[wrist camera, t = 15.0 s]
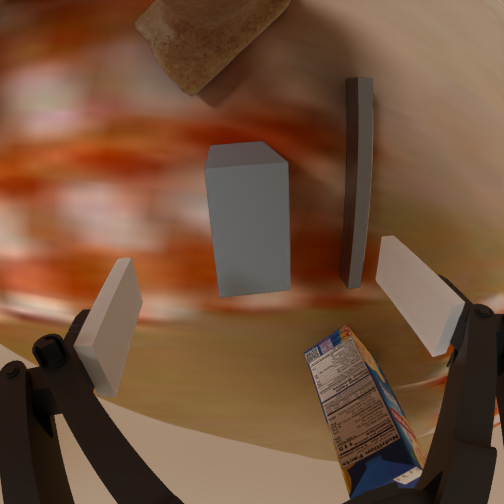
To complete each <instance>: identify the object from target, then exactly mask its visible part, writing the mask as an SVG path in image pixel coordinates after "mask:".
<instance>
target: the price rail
mask: <svg viewBox="0 0 504 504" xmlns="http://www.w3.org/2000/svg"><path fill="white" fill-rule="evenodd" d="M346 105H347V145H346V183H345V205H344V222H343V236H342V249H341V261H340V272H339V276H340V278H341V279H342V281H343V282H344V284H345V285H346V287H347V289H352V288H360V285H361V277H362V270H363V262H364V257H365V248H366V239H367V229H368V218H369V207H370V193H371V177H372V156H373V79H372V78H363V77H355V78H348V79H346Z"/></svg>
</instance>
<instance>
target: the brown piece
mask: <svg viewBox="0 0 504 504" xmlns="http://www.w3.org/2000/svg"><path fill="white" fill-rule="evenodd" d="M290 2H291V0H155V1H154V2H153V3H152V4H151V5H150V7H149V8H148V9H147V10H146V11H145V12H144V13H143V14H142V15H141V16H140V17H139V18H138V19H137V21H136V22H135V28H136V29H137V31H138V32H140V33H141V34H142V35H143V37H144V38H145V39H146V40H147V41H148V42H149V44H151V49H152V52H153V54H154V55H155V58H156V61H157V62H158V64H159V65H160V66H161V67H162V68H163V70H164V71H165V72H166V73H167V75H168V76H169V77H170V78H171V79H172V80H173V81H174V82H175V83H176V84H177V86H178V87H179V88H180V89H181V90H182V91H183V92H185V93H187V94H189V95H190V96H193V95H195V94H197V93H198V92H199V91H200V90H201V89H202V88H203V87H205V86H206V85H207V84H208V83H209V82H210V81H211V80H212V79H213V78H214V77H215V76H216V75H217V74H218V73H219V72H221V71H222V70H223V69H224V68H225V67H226V66H227V65H228V64H229V63H230V62H231V61H232V60H233V59H234V58H235V57H236V56H237V55H238V54H239V53H240V52H241V51H242V50H243V49H244V48H245V47H247V46H248V45H249V44H250V43H251V42H252V41H253V40H254V39H255V38H256V37H257V36H258V35H260V34H261V33H262V32H263V31H264V30H265V29H266V28H267V27H268V26H269V25H270V24H271V23H272V22H273V21H274V20H275V19H276V18H277V17H279V16H280V15H281V14H282V13H283V12H284V10H285V9H286V8H287V7H288V5H289V3H290Z"/></svg>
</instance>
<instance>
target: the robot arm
mask: <svg viewBox="0 0 504 504" xmlns="http://www.w3.org/2000/svg"><path fill="white" fill-rule="evenodd" d="M375 280H376V282H377V283H378V284H379V285H380V287H381V288H382V289H383V291H384V292H385V293H386V294H387V296H388V297H389V298H390V300H391V301H392V302H393V304H394V305H395V306H396V307H397V309H398V310H399V311H400V313H401V314H402V315H403V317H404V318H405V319H406V321H407V322H408V323H409V325H410V326H411V327H412V329H413V330H414V332H415V333H416V334H417V336H418V337H419V338H420V340H421V341H422V343H423V344H424V345H425V347H426V348H427V350H428V351H429V352H430V354H431V355H432V357H435V356H438V355H442V354H445V353H446V352H447V349H448V347H449V344H450V343H451V344H452V345H453V347H454V350H453V352H452V355H451V357H450V359H449V361H448V364H447V367H449V365H450V367H449V373H448V378H447V383H446V388H445V393H444V397H443V402H442V406H441V410H440V414H439V418H438V422H437V426H436V429H435V433H434V436H433V440H432V443H431V446H430V450H429V453H428V456H427V459H426V462H425V465H424V468H423V471H422V474H421V476H420V478H419V480H418V482H417V483H416V485H415V487H414V488H399V487H398V485H397V482H393V483H390V484H387V485H384V486H381V487H378V488H375V489H372V490H368V491H365V492H364V493H362V494H360V495H358V496H356V497H354V498H352V499H351V500H349V501H347V502H345V503H343V504H487V503H488V499H489V494H490V490H491V485H492V480H493V475H494V470H495V464H496V458H497V450H496V448H495V447H491V438H492V437H491V436H492V430H493V421H494V410H495V397H496V398H497V404H498V409H499V415H500V422H501V428H502V436H503V444H504V314H494V312H493V311H492V309H490V308H489V307H487V306H485V305H483V304H472V303H471V302H470V301H469V300H468V299H467V298H466V297H465V296H464V295H463V294H462V293H461V292H460V291H458V289H457V288H456V287H455V286H453V284H452V283H451V282H450V281H449V280H448V279H446V278H444V277H443V276H441V275H439V274H438V275H437V274H436V273H435V272H433V271H432V270H431V269H430V268H429V267H428V266H427V265H426V264H425V263H424V262H423V261H422V260H421V259H419V258H418V257H417V256H416V255H415V254H414V253H413V252H412V251H411V250H409V249H408V248H407V247H406V246H405V245H404V244H403V243H402V242H400V241H399V240H398V239H397V238H396V237H395V236H394V235H393V236H382V238H381V246H380V253H379V260H378V267H377V273H376V279H375ZM142 303H143V302H142V298H141V294H140V290H139V286H138V282H137V278H136V274H135V270H134V265H133V261H132V257H130V258H118V259H117V261H116V263H115V265H114V267H113V268H112V270H111V272H110V274H109V276H108V278H107V279H106V281H105V283H104V285H103V287H102V289H101V291H100V293H99V295H98V296H97V298H96V300H95V302H94V304H93V306H92V308H91V309H89V310H82V311H81V312H80V313H79V314H78V315H77V316H76V317H75V319H74V321H73V323H72V326H71V327H70V328H69V330H68V331H69V332H67V334H66V336H65V338H64V340H63V339H62V337H61V336H60V335H57V334H48V335H45V336H43V337H41V338H40V339H38V340H37V341H36V342H35V343H34V345H33V348H32V352H33V354H34V356H35V358H36V360H37V362H38V363H39V365H40V366H39V367H35V368H30V369H27V368H26V366H25V365H24V363H22V362H21V361H12V362H9V363H7V364H6V365H5V366H4V367H3V368H2V369H1V371H0V478H1V486H2V494H3V501H4V504H75V503H74V500H73V496H72V493H71V490H70V486H69V483H68V479H67V475H66V471H65V467H64V463H63V459H62V454H61V450H60V445H59V440H58V435H57V429H56V424H55V418H54V415H56V414H61V413H62V414H63V416H64V418H65V420H66V422H67V424H68V426H69V428H70V429H71V431H72V433H73V435H74V437H75V438H76V440H77V442H78V444H79V445H80V447H81V449H82V451H83V452H84V454H85V455H86V457H87V459H88V460H89V462H90V464H91V465H92V467H93V468H94V470H95V471H96V473H97V475H98V476H99V478H100V479H101V481H102V482H103V483H104V485H105V486H106V488H107V489H108V491H109V492H110V493H111V495H112V496H113V498H114V499H115V500H116V502H117V503H118V504H184V503H183V502H182V501H181V500H180V499H179V498H178V497H177V496H175V495H174V494H173V493H172V492H171V491H170V490H169V489H168V488H167V487H166V486H165V485H164V484H163V482H162V481H161V480H160V479H159V478H158V477H157V476H156V475H155V474H154V473H153V471H152V470H151V469H150V468H149V467H148V465H147V464H146V463H145V462H144V461H143V460H142V458H141V457H140V456H139V455H138V453H137V452H136V451H135V450H134V448H133V447H132V446H131V445H130V443H129V442H128V441H127V440H126V438H125V437H124V436H123V434H122V433H121V432H120V430H119V429H118V428H117V426H116V425H115V424H114V422H113V421H112V420H111V418H110V417H109V415H108V414H107V412H106V411H105V409H104V408H103V407H102V405H101V404H100V402H99V401H98V399H97V398H96V396H95V395H94V393H93V390H94V387H95V389H96V391H97V393H98V395H99V396H102V397H117V393H118V389H119V385H120V381H121V377H122V373H123V369H124V366H125V362H126V358H127V354H128V351H129V347H130V344H131V340H132V337H133V333H134V330H135V326H136V323H137V320H138V316H139V313H140V310H141V306H142Z"/></svg>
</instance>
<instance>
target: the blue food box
mask: <svg viewBox="0 0 504 504" xmlns="http://www.w3.org/2000/svg"><path fill="white" fill-rule="evenodd" d="M304 353H305V356H306V359H307V362H308V365H309V368H310V372H311V375H312V378H313V381H314V384H315V387H316V390H317V393H318V397H319V400H320V403H321V406H322V409H323V412H324V415H325V419H326V422H327V425H328V428H329V431H330V435H331V438H332V441H333V444H334V448H335V451H336V454H337V457H338V461H339V464H340V467H341V470H342V473H343V477H344V480H345V483H346V487H347V490H348V493H349V497H350V499H352V498H354V497H356V496H358V495H360V494H362V493H364V492H365V491H368V490H372V489H375V488H378V487H381V486H384V485H387V484H390V483H393V482H397V485H398V487H399V488H414V487H415V485H416V483H417V482H418V480H419V478H420V476H421V474H422V471H423V468H424V465H425V462H426V458H425V455H424V453H423V451H422V449H421V447H420V445H419V443H418V441H417V439H416V437H415V435H414V433H413V431H412V429H411V427H410V425H409V423H408V421H407V419H406V417H405V415H404V413H403V411H402V409H401V407H400V405H399V403H398V401H397V399H396V397H395V395H394V393H393V391H392V389H391V387H390V385H389V383H388V382H387V380H386V378H385V376H384V374H383V372H382V370H381V368H380V367H379V365H378V363H377V361H376V360H375V359H374V357H373V356H372V355H371V354H370V353H369V351H368V350H367V349H366V348H365V346H364V345H363V344H362V343H361V341H360V340H359V339H358V338H357V337H356V335H355V334H354V333H353V332H352V331H351V329H350V328H349V327H348V326H347V324H346V325H344V326H343V327H342V328H340V329H339V330H337V331H336V332H334V333H333V334H331V335H330V336H328V337H327V338H325V339H324V340H322V341H321V342H319V343H318V344H316V345H315V346H313V347H312V348H310V349H309V350H307V351H306V352H304Z"/></svg>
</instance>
